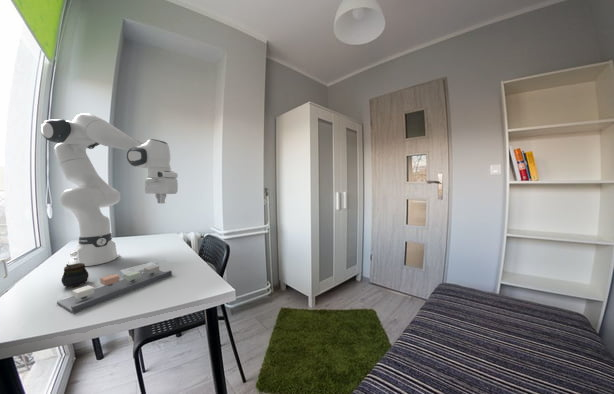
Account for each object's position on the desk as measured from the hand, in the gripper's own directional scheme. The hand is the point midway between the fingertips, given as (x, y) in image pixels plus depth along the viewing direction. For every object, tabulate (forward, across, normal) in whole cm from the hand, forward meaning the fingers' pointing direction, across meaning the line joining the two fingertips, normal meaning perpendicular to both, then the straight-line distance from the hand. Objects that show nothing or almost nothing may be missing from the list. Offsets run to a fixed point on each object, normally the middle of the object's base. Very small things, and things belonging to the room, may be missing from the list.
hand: (161, 203), depth 99 cm
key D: (+30, +7, -16) cm, 35 cm away
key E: (+28, +7, -23) cm, 37 cm away
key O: (+30, +7, -30) cm, 43 cm away
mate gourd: (+31, -13, -26) cm, 43 cm away
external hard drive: (+32, -8, -7) cm, 34 cm away
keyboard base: (+31, +7, -20) cm, 37 cm away
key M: (+30, +7, -9) cm, 32 cm away
